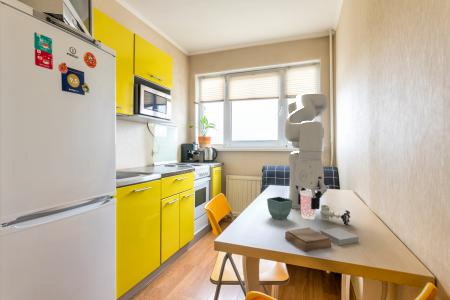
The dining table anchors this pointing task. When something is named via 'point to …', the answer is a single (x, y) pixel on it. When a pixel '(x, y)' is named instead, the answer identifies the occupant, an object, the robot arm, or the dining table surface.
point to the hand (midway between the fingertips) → (308, 206)
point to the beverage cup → (307, 205)
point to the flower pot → (279, 207)
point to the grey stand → (340, 236)
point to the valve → (333, 214)
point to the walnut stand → (308, 239)
